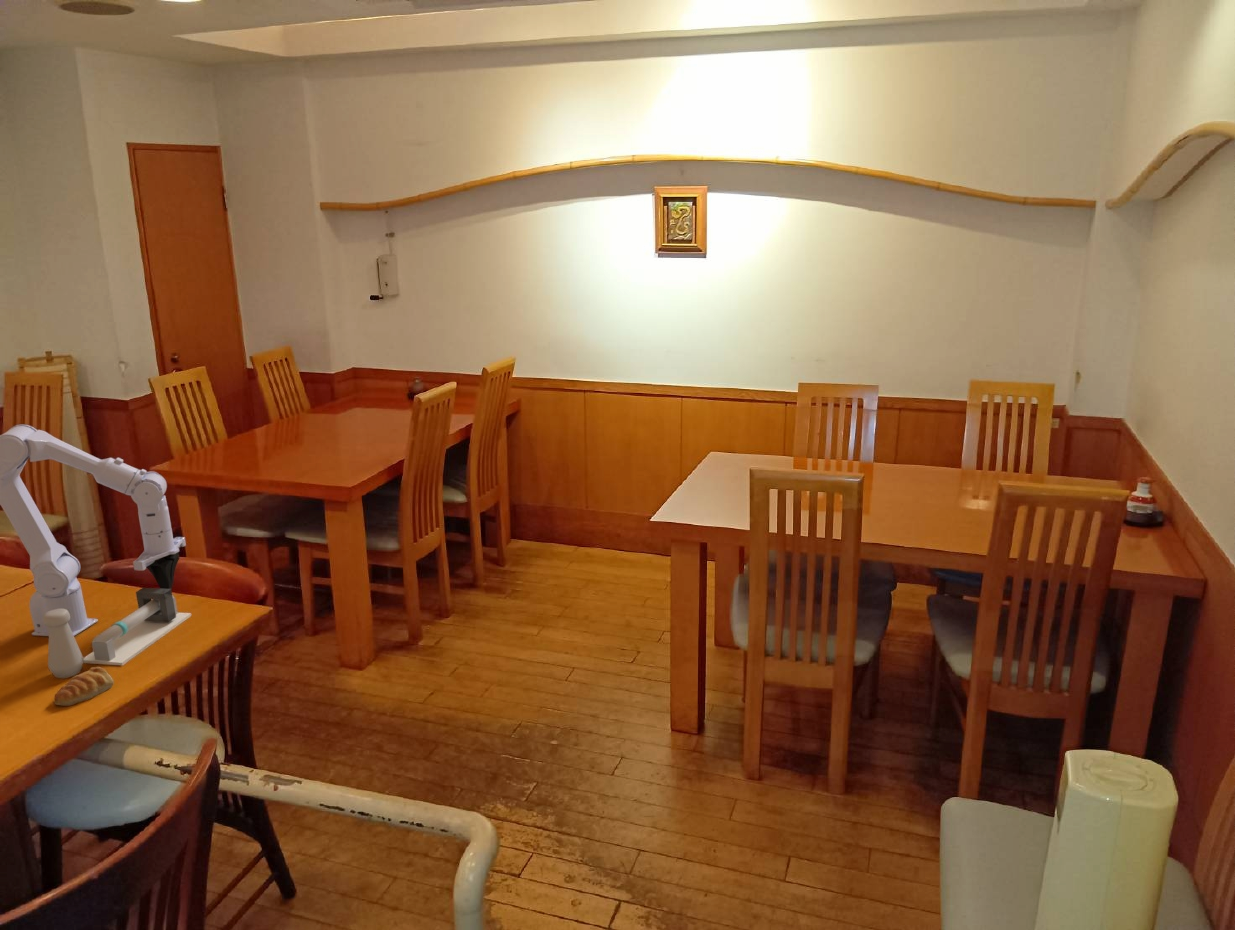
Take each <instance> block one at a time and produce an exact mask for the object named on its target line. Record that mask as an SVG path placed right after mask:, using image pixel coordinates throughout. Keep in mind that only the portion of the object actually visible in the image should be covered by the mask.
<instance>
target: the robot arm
mask: <svg viewBox="0 0 1235 930" xmlns="http://www.w3.org/2000/svg"><path fill="white" fill-rule="evenodd" d="M28 460H29V462H30V463H33V462H40V461H45V460H53V461H56V462H59V463H61V464H64V465H67V466H69V467H71V468H75V469H77V470H80V471H83V472H86V473H88V474H91V475H92V476H93V478H94V479H95V481H96V483H98V484H100V485H102V486H105V487H107V488H110V489H112V490H115V491H117V492H119V493H122V494H124V495H126V496H130V497H131V499H132V501H133V502H134V503H135V504H136V505H137V511H138V512H137V514H138V520H139V526H140V532H141V537H142V543H143V548H144V550H143V552H142V553H141V554H140V555H139V557H138V558H137V559H135V560H134V561H132V564H133V569H134V571H143V572H144V571H145V570H146V569H147V570H148V571H149V572H150V573H151V574H152V576H153V578H154V579H155V581H156V583H157V585H158V588H162V589H171V590H172V589H173V588H174V578H175V572H176V567H177V565H178V562H179V561H180V554H179V552H180V548H183V547H186V546H187V544H186V537H185V536H184V537H183V536H176V537H174V534H173V529H172V522H171V518H170V512H169V511H170V510H169V506H168V502H167V498H166V497H167V496H166V495H165V493H166V492H167V488H168V484H167V481H166V479H165V478H164V476H162V475H161V474H159V472H157V471H147V470H146V469H144V468H142V469H139V468H137V467H134V466H131V465H129V464H127V463H124V459H122V458H121V457H116V458H114V457H108V458H103V459H101V458H99V457H96V456H94V455H92V454H90V453H88V452H86V451H84V450H82V449H81V448H77V447H75V446H74V445H71V444H69V443H67V442H65V441H63V440H61V439H59V438H57V437H55V436H53V435H52V434H50V433H49V432H47V431H45V430H41V429H36V428H35V427H33V426H32V425H30V424H29V425H28V424H16V425H14V426H12V427H11V428H9V429H8V430H7V431H5V432H4V433H2V434H0V506H1V508H2V510H3V511H4V513H5V515H6V517H7V518H8V520H9V522H10V523H11V525H12V527H13V529H14V531H15V532H16V534H17V536H18V538H19V540H20V541H21V542H22V544H23V546H24V549H25V550H26V552H27V554H29V569H30V571H31V574H32V576H33V586H34V589H35V590H36V591H34V592H33V594H31V596H30V600H29V604H28V605H29V606H28V607H29V611H30V615H31V619H32V623H33V624H32V625H33V629H34V631H33V632H31V635H32V636H38V637H39V636H40V637H49V627H47V626H45V624H44V621H43V616H44V615H45V614H46V613H47V612H49V611H51V610H54V609H66V610H68V612H69V614H70V620H69V622H68V624H69V626H70V629H71V631H72V633H73V636H74V637H75V636H77V635H78V634H80V633H81V632H83V631H84V630H86V629H88V628H89V627H91V626H93V625H94V624H95V623H98V621H99V619H97V618H91V617H90V618H89V617H88V616H87V611H86V610H87V609H86V607H85V602H84V601H85V599H84V597H83V591H82V590H83V589H82V586H81V583H80V582H79V579H77V577H78V575H79V574H80V571H81V563H80V561H79V559H78V558H77V557H75V556H74V555H72V554H71V553H70V552H69V551H68V550H67V547H66V546H65V545H63V544H60V543H59V542H58V541H57V539H56V538H55V536H54V535H53V533H52V531H51V530H50V527H49V526H48V524H47V523H46V520H45V519H44V517H43V515H42V513H41V511H40V510H39V508H38V506H37V504H36V503H35V501H34V499H33V497H32V495H31V494H30V492H29V490H28V489H27V487H26V485H25V483H24V482H23V480H22V478H21V476H20V474H21V473H22V471H23V470H24V467H25V465H26V464H27V461H28Z"/></svg>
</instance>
